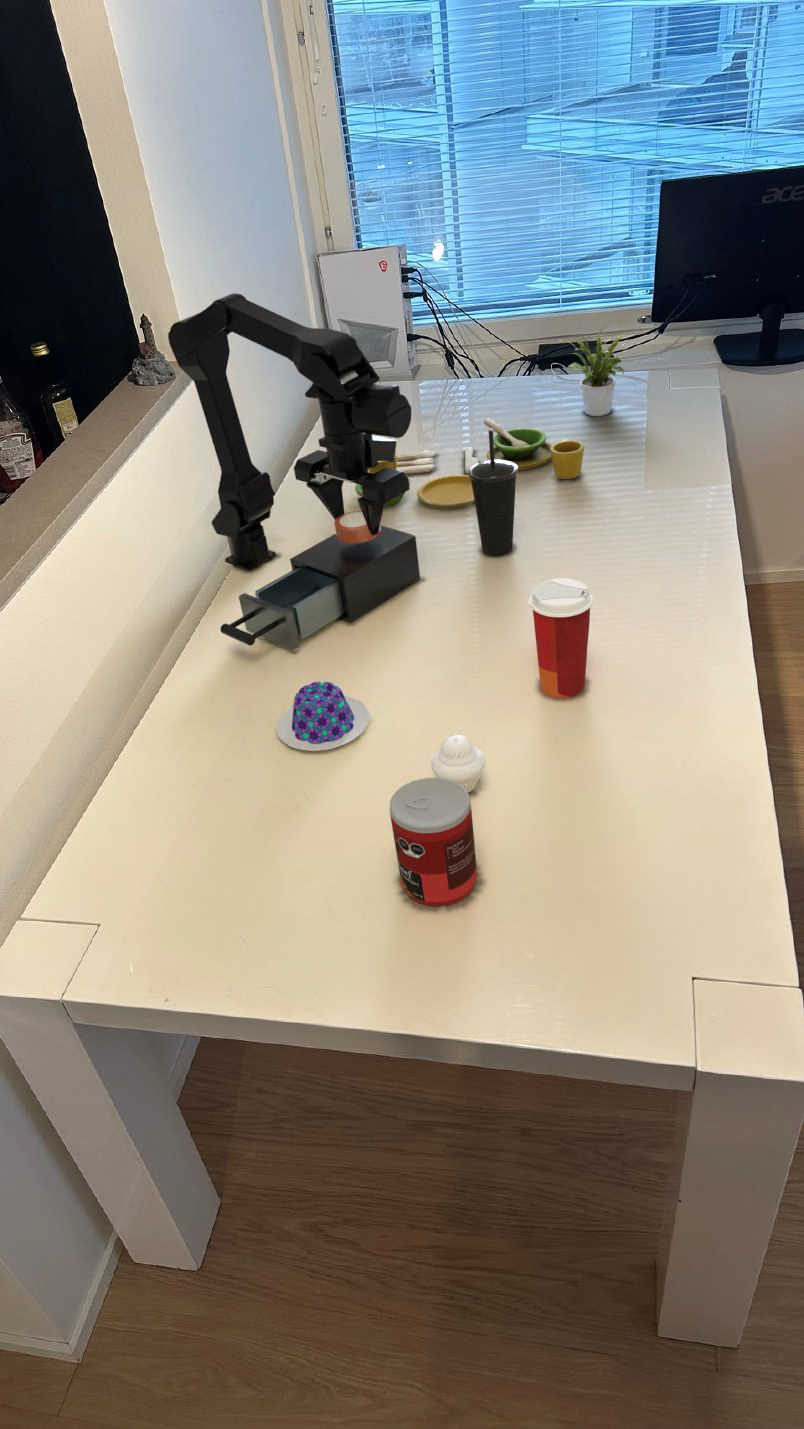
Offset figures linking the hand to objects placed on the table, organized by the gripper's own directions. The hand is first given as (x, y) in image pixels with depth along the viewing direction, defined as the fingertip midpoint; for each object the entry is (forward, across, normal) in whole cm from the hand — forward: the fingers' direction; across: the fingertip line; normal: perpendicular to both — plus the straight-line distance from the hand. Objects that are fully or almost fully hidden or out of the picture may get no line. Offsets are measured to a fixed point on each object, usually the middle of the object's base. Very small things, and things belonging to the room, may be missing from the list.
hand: (358, 529), depth 152 cm
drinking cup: (+10, -10, -20) cm, 25 cm away
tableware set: (+10, +12, -40) cm, 43 cm away
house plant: (+10, +11, -78) cm, 80 cm away
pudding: (+10, -21, +30) cm, 38 cm away
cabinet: (+10, 0, +2) cm, 10 cm away
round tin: (+1, 0, 0) cm, 1 cm away
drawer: (+9, 0, +16) cm, 18 cm away
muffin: (+10, -43, +28) cm, 53 cm away
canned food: (+10, -51, +42) cm, 66 cm away
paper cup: (+10, -41, +6) cm, 43 cm away
